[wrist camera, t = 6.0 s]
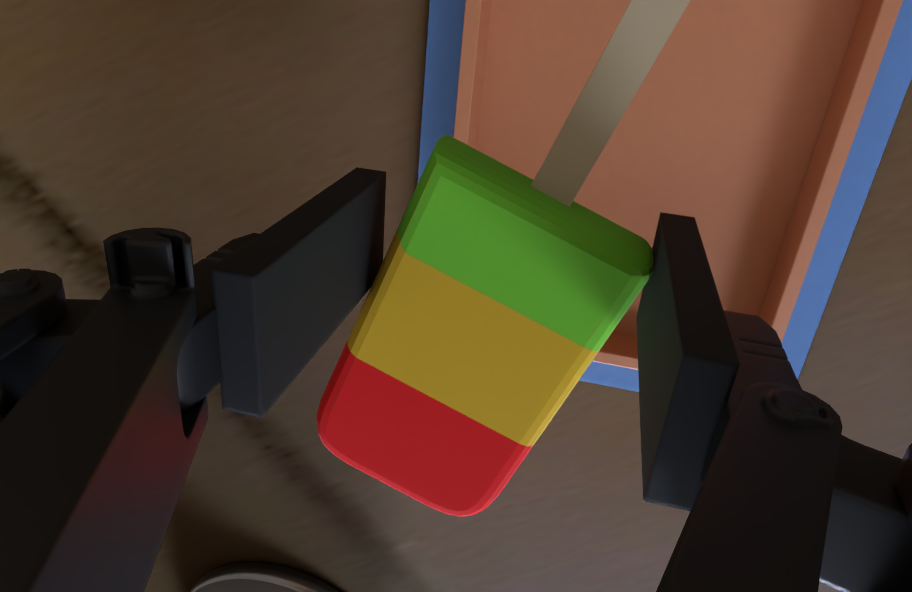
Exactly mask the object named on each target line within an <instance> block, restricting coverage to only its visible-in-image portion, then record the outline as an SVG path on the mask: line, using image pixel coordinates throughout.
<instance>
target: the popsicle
mask: <svg viewBox="0 0 912 592" xmlns="http://www.w3.org/2000/svg"><path fill="white" fill-rule="evenodd" d="M689 2H690V0H631V2H630V4H629V5H628V7H627V9H626V11H625V13H624V15H623V16H622V18H621V20H620V22H619V24H618V26H617V27H616V29H615V31H614V33H613V35H612V37H611V39H610V40H609V42H608V44H607V46H606V48H605V50H604V51H603V53H602V55H601V57H600V59H599V61H598V62H597V64H596V66H595V68H594V70H593V72H592V73H591V75H590V77H589V79H588V81H587V83H586V85H585V86H584V88H583V90H582V92H581V94H580V96H579V97H578V99H577V101H576V103H575V105H574V107H573V108H572V110H571V112H570V114H569V116H568V118H567V120H566V121H565V123H564V125H563V127H562V129H561V131H560V132H559V134H558V136H557V138H556V140H555V142H554V143H553V145H552V147H551V149H550V151H549V153H548V155H547V156H546V158H545V160H544V162H543V164H542V166H541V167H540V169H539V171H538V173H537V175H536V177H535V178H534V180H533V179H531V178H529V177H527V176H525V175H523V174H521V173H520V172H518V171H516V170H514V169H512V168H510V167H508V166H506V165H504V164H503V163H501V162H499V161H497V160H495V159H493V158H491V157H489V156H487V155H486V154H484V153H482V152H480V151H478V150H476V149H474V148H472V147H470V146H468V145H467V144H465V143H463V142H461V141H459V140H457V139H455V138H453V137H451V136H450V135H448V134H446V135H443V136H442V137H441V138H440V139H439V140H438V141H437V143H436V144H435V146H434V149H433V151H432V153H431V155H430V158H429V160H428V162H427V164H426V167H425V169H424V171H423V173H422V175H421V178H420V180H419V182H418V184H417V187H416V189H415V191H414V193H413V196H412V198H411V200H410V202H409V204H408V207H407V209H406V211H405V213H404V216H403V218H402V220H401V222H400V225H399V227H398V229H397V231H396V233H395V236H394V238H393V240H392V242H391V245H390V247H389V249H388V251H387V253H386V256H385V258H384V260H383V262H382V265H381V267H380V269H379V271H378V274H377V276H376V278H375V280H374V282H373V285H372V287H371V289H370V291H369V294H368V296H367V298H366V300H365V303H364V305H363V307H362V309H361V311H360V314H359V316H358V318H357V320H356V323H355V325H354V327H353V329H352V332H351V334H350V336H349V338H348V341H347V343H346V345H345V347H344V349H343V352H342V354H341V356H340V358H339V361H338V363H337V365H336V367H335V370H334V372H333V374H332V376H331V378H330V381H329V383H328V385H327V387H326V390H325V392H324V394H323V396H322V399H321V401H320V405H319V408H318V412H317V433H318V435H319V437H320V439H321V441H322V443H323V444H324V445H325V446H326V447H327V448H328V449H329V450H330V451H331V452H332V453H333V454H334V455H335V456H337V457H338V458H340V459H342V460H343V461H345V462H346V463H348V464H349V465H351V466H353V467H355V468H357V469H359V470H361V471H362V472H364V473H366V474H368V475H370V476H372V477H374V478H376V479H378V480H380V481H381V482H383V483H385V484H387V485H389V486H391V487H393V488H395V489H397V490H398V491H400V492H402V493H404V494H406V495H408V496H410V497H412V498H414V499H416V500H417V501H419V502H421V503H423V504H425V505H427V506H429V507H431V508H434V509H436V510H438V511H441V512H443V513H445V514H450V515H455V516H460V517H461V516H470V515H475V514H477V513H478V512H480V511H482V510H484V509H486V508H487V507H488V506H489V505H490V504H491V503H492V502H493V501H494V500H495V499H496V497H497V496H498V495H499V494H500V493H501V491H502V490H503V489H504V487H505V486H506V484H507V483H508V481H509V480H510V478H511V477H512V476H513V474H514V473H515V471H516V470H517V468H518V467H519V466H520V464H521V463H522V461H523V460H524V458H525V457H526V455H527V454H528V453H529V451H530V450H531V448H532V447H533V445H534V444H535V443H536V441H537V440H538V438H539V437H540V435H541V434H542V432H543V431H544V430H545V428H546V427H547V425H548V424H549V422H550V421H551V420H552V418H553V417H554V415H555V414H556V412H557V411H558V409H559V408H560V407H561V405H562V404H563V402H564V401H565V399H566V398H567V397H568V395H569V394H570V392H571V391H572V389H573V388H574V386H575V385H576V384H577V382H578V381H579V379H580V378H581V376H582V375H583V374H584V372H585V371H586V369H587V368H588V366H589V365H590V363H591V362H592V361H593V359H594V358H595V356H596V355H597V353H598V352H599V351H600V349H601V348H602V346H603V345H604V343H605V342H606V341H607V339H608V338H609V336H610V335H611V333H612V332H613V330H614V329H615V328H616V326H617V325H618V323H619V322H620V320H621V319H622V318H623V316H624V315H625V313H626V312H627V310H628V309H629V307H630V306H631V305H632V303H633V302H634V300H635V299H636V297H637V296H638V295H639V293H640V292H641V290H642V289H643V287H644V286H645V284H646V283H647V282H648V280H649V278H650V276H651V274H652V272H653V265H654V259H653V251H652V248H651V246H650V245H649V243H648V242H647V241H646V240H645V239H644V238H642V237H641V236H639V235H637V234H635V233H633V232H631V231H629V230H627V229H625V228H624V227H622V226H620V225H618V224H616V223H614V222H612V221H610V220H608V219H607V218H605V217H603V216H601V215H599V214H597V213H595V212H593V211H591V210H590V209H588V208H586V207H584V206H582V205H580V204H578V203H576V202H574V201H573V200H574V198H575V197H576V195H577V193H578V192H579V190H580V188H581V186H582V185H583V183H584V181H585V180H586V178H587V176H588V175H589V173H590V171H591V169H592V168H593V166H594V164H595V163H596V161H597V159H598V157H599V156H600V154H601V152H602V151H603V149H604V147H605V145H606V144H607V142H608V140H609V139H610V137H611V135H612V134H613V132H614V130H615V128H616V127H617V125H618V123H619V122H620V120H621V118H622V116H623V115H624V113H625V111H626V110H627V108H628V106H629V105H630V103H631V101H632V99H633V98H634V96H635V94H636V93H637V91H638V89H639V87H640V86H641V84H642V82H643V81H644V79H645V77H646V75H647V74H648V72H649V70H650V69H651V67H652V65H653V64H654V62H655V60H656V58H657V57H658V55H659V53H660V52H661V50H662V48H663V46H664V45H665V43H666V41H667V40H668V38H669V36H670V35H671V33H672V31H673V29H674V28H675V26H676V24H677V23H678V21H679V19H680V17H681V16H682V14H683V12H684V11H685V9H686V7H687V5H688V4H689Z"/></svg>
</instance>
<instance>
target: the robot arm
mask: <svg viewBox="0 0 912 592" xmlns="http://www.w3.org/2000/svg"><path fill="white" fill-rule="evenodd" d="M385 189H386V172H384V171H377V170H370V169H363V168H355V169H354V170H352V171H351V172H350V173H348V174H347V175H345V176H344V177H342V178H341V179H339V180H338V181H336V182H335V183H334V184H332V185H331V186H329V187H328V188H326V189H325V190H323V191H322V192H320V193H319V194H318V195H316V196H315V197H313V198H312V199H310V200H309V201H307V202H306V203H304V204H303V205H302V206H300V207H299V208H297V209H296V210H294V211H293V212H291V213H290V214H288V215H287V216H286V217H284V218H283V219H281V220H280V221H278V222H277V223H275V224H274V225H273V226H271V227H270V228H268V229H267V230H265V231H264V232H262V233H261V234H257V233H252V234H249V235H246V236H243V237H240V238H236V239H233V240H231V241H230V242H228V243H227V244H225V245H224V246H222V247H221V248H219V249H218V251H214V252H213V253H211V254H210V255H208V256H207V257H206V259H202V260H201V261H199V262H198V263H196V264H195V265H193V256H192V246H191V238H190V237H189V236H188V235H187V234H186V233H184V232H181V231H178V230H174V229H167V228H140V229H133V230H127V231H123V232H120V233H117V234H114V235H112V236H110V237H108V238H107V239H105V240H104V241H103V243H104V249H105V255H106V261H107V267H108V273H109V279H110V286H111V288H110V289H109V290H108V292H107V293H106V294H105V295H104V297H103V298H102V299H101V300H79V299H66V298H65V293H64V288H63V283H62V279H61V278H60V277H59V276H57V275H56V274H54V273H50V272H46V271H39V270H31V269H19V271H17V269H15V270H8V271H5V272H4V273H1V274H0V592H144V590H145V587H146V585H147V582H148V579H149V577H150V574H151V571H152V568H153V566H154V563H155V560H156V558H157V555H158V552H159V550H160V547H161V544H162V541H163V539H164V536H165V533H166V531H167V528H168V525H169V522H170V520H171V517H172V514H173V512H174V509H175V506H176V503H177V501H178V498H179V495H180V493H181V490H182V487H183V484H184V482H185V479H186V476H187V474H188V471H189V468H190V465H191V463H192V460H193V457H194V455H195V452H196V449H197V446H198V444H199V441H200V438H201V436H202V433H203V430H204V427H205V425H206V422H207V419H208V404H207V394H208V393H209V392H210V391H211V390H212V389H213V388H214V387H215V386H216V385H217V384H218V383H219V382H220V384H221V396H222V407H223V409H225V410H229V411H234V412H238V413H243V414H248V415H252V416H257V417H261V418H262V417H263V416H264V415H265V414H266V413H267V411H268V410H269V409H270V408H271V407H272V405H273V404H274V403H275V402H276V401H277V399H278V398H279V397H280V396H281V395H282V393H283V392H284V391H285V390H286V389H287V387H288V386H289V385H290V384H291V383H292V381H293V380H294V379H295V378H296V377H297V375H298V374H299V373H300V372H301V371H302V369H303V368H304V367H305V366H306V365H307V363H308V362H309V361H310V360H311V359H312V357H313V356H314V355H315V354H316V353H317V351H318V350H319V349H320V348H321V347H322V345H323V344H324V343H325V342H326V341H327V339H328V338H329V337H330V336H331V334H332V333H333V332H334V331H335V330H336V328H337V327H338V326H339V325H340V324H341V322H342V321H343V320H344V319H345V318H346V316H347V315H348V314H349V313H350V312H351V310H352V309H353V308H354V307H355V306H356V304H357V303H358V302H359V301H360V300H361V298H362V297H363V296H364V295H365V294H366V292H367V291H368V290H369V289H370V288H371V286H372V285H373V282H374V280H375V278H376V276H377V274H378V271H379V269H380V267H381V265H382V262H383V242H384V215H385ZM652 251H653V259H654V265H653V272H652V274H651V276H650V278H649V280H648V282H647V283H646V284H645V286H644V287H643V290H642V295H641V299H640V303H639V308H638V312H637V316H636V325H637V350H638V376H639V402H640V428H641V453H642V479H643V501H646V502H651V503H655V504H660V505H664V506H669V507H674V508H678V509H683V510H687V511H690V514H689V516H688V518H687V521H686V523H685V525H684V528H683V530H682V532H681V535H680V537H679V539H678V542H677V544H676V546H675V549H674V551H673V553H672V556H671V558H670V560H669V563H668V565H667V568H666V570H665V572H664V575H663V577H662V579H661V582H660V584H659V586H658V589H657V591H656V592H818V586H819V581H820V582H822V583H824V584H826V585H828V586H831V587H833V588H835V589H837V590H839V591H841V592H912V444H911V445H909V447H908V449H907V451H906V453H905V455H904V457H903V459H900V458H897V457H895V456H892V455H889V454H886V453H884V452H881V451H878V450H875V449H873V448H870V447H867V446H865V445H862V444H860V443H858V442H855V441H853V440H850V439H848V438H847V437H845V436H843V435H841V432H842V423H841V419H840V416H839V415H838V414H837V413H836V412H835V411H834V409H833V408H832V407H831V406H830V405H828V404H827V403H825V402H824V401H822V400H821V399H819V398H818V397H816V396H815V395H813V394H810V393H808V392H805V391H803V390H802V389H801V386H800V384H799V382H798V380H797V377H796V375H795V373H794V371H793V368H792V366H791V364H790V361H787V359H788V357H787V355H786V352H785V350H784V348H782V343H781V341H780V339H779V337H778V334H777V332H776V330H774V329H773V328H772V327H771V326H770V325H769V324H767V323H766V322H765V321H764V320H763V319H762V318H760V317H759V316H755V315H749V314H743V313H737V312H731V311H725V310H723V307H722V304H721V301H720V298H719V294H718V291H717V288H716V285H715V281H714V278H713V275H712V272H711V268H710V265H709V262H708V259H707V255H706V252H705V249H704V246H703V242H702V239H701V236H700V233H699V229H698V226H697V223H696V220H695V217H690V216H683V215H676V214H669V213H662V212H660V216H659V221H658V225H657V229H656V234H655V238H654V243H653V247H652ZM701 485H702V486H701ZM700 487H701V488H700ZM190 592H339V591H338V590H336V589H334V588H333V587H331V586H330V585H328V584H326V583H324V582H322V581H320V580H319V579H316V578H314V577H312V576H310V575H308V574H305V573H302V572H300V571H297V570H294V569H290V568H287V567H283V566H279V565H274V564H267V563H257V562H243V563H234V564H229V565H225V566H222V567H219V568H216V569H214V570H212V571H210V572H209V573H207V574H206V575H204V576H203V577H202V578H201V579H200V580H199V581H198V582H197V583H196V584H195V585H194V587H193V588H192V590H191V591H190Z"/></svg>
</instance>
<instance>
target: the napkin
mask: <svg viewBox="0 0 912 592" xmlns="http://www.w3.org/2000/svg"><path fill="white" fill-rule="evenodd" d="M465 2H466V0H430V5H429V20H428V35H427V50H426V65H425V79H424V94H423V109H422V124H421V139H420V154H419V168H418V182H419V180H420V178H421V175H422V173H423V171H424V169H425V167H426V164H427V162H428V160H429V158H430V155H431V153H432V151H433V149H434V146H435V144H436V143H437V141H438V140H439V139H440V138H441V137H442V136H443V135H446V134H448V135H450V136H451V137H453V136H454V125H455V114H456V103H457V92H458V80H459V69H460V58H461V47H462V35H463V24H464V13H465ZM911 78H912V0H903V2H902V5H901V8H900V11H899V13H898V16H897V19H896V22H895V25H894V27H893V30H892V33H891V36H890V39H889V42H888V44H887V47H886V50H885V53H884V56H883V58H882V61H881V64H880V67H879V70H878V73H877V75H876V78H875V81H874V84H873V87H872V90H871V92H870V95H869V98H868V101H867V104H866V106H865V109H864V112H863V115H862V118H861V121H860V123H859V126H858V129H857V132H856V135H855V137H854V140H853V143H852V146H851V149H850V152H849V154H848V157H847V160H846V163H845V166H844V168H843V171H842V174H841V177H840V180H839V183H838V185H837V188H836V191H835V194H834V197H833V199H832V202H831V205H830V208H829V211H828V214H827V216H826V219H825V222H824V225H823V228H822V230H821V233H820V236H819V239H818V242H817V245H816V247H815V250H814V253H813V256H812V259H811V261H810V264H809V267H808V270H807V273H806V276H805V278H804V281H803V284H802V287H801V290H800V293H799V295H798V298H797V301H796V304H795V307H794V309H793V312H792V315H791V318H790V321H789V324H788V326H787V329H786V332H785V335H784V338H783V340H782V348H784V350H785V352H786V355H787V357H788V359H787V361H790V364H791V366H792V368H793V371H794V373H795V375H796V377H797V380H798V377H799V374H800V372H801V369H802V366H803V364H804V361H805V358H806V356H807V353H808V351H809V348H810V345H811V343H812V340H813V337H814V335H815V332H816V329H817V327H818V324H819V321H820V319H821V316H822V313H823V311H824V308H825V306H826V303H827V300H828V298H829V295H830V292H831V290H832V287H833V284H834V282H835V279H836V276H837V274H838V271H839V268H840V266H841V263H842V260H843V258H844V255H845V253H846V250H847V247H848V245H849V242H850V239H851V237H852V234H853V231H854V229H855V226H856V223H857V221H858V218H859V215H860V213H861V210H862V207H863V205H864V202H865V200H866V197H867V194H868V192H869V189H870V186H871V184H872V181H873V178H874V176H875V173H876V170H877V168H878V165H879V162H880V160H881V157H882V155H883V152H884V149H885V147H886V144H887V141H888V139H889V136H890V133H891V131H892V128H893V125H894V123H895V120H896V117H897V115H898V112H899V109H900V107H901V104H902V102H903V99H904V96H905V94H906V91H907V88H908V86H909V83H910V80H911ZM417 184H418V183H417ZM579 380H581V381H586V382H591V383H596V384H601V385H607V386H612V387H617V388H622V389H627V390H632V391H637V392H639V376H638V370H635V369H630V368H625V367H620V366H615V365H609V364H604V363H599V362H594V361H592V362H591V363H590V365H589V366H588V368H587V369H586V371H585V372H584V374H583V375H582V376H581V378H580V379H579Z"/></svg>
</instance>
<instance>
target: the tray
mask: <svg viewBox="0 0 912 592" xmlns="http://www.w3.org/2000/svg"><path fill="white" fill-rule="evenodd" d="M630 2H631V0H466V2H465V13H464V24H463V35H462V47H461V58H460V69H459V80H458V92H457V103H456V114H455V125H454V136H453V138H455V139H457V140H459V141H461V142H463V143H465V144H467V145H468V146H470V147H472V148H474V149H476V150H478V151H480V152H482V153H484V154H486V155H487V156H489V157H491V158H493V159H495V160H497V161H499V162H501V163H503V164H504V165H506V166H508V167H510V168H512V169H514V170H516V171H518V172H520V173H521V174H523V175H525V176H527V177H529V178H531V179H533V180H534V178H535V177H536V175H537V173H538V171H539V169H540V167H541V166H542V164H543V162H544V160H545V158H546V156H547V155H548V153H549V151H550V149H551V147H552V145H553V143H554V142H555V140H556V138H557V136H558V134H559V132H560V131H561V129H562V127H563V125H564V123H565V121H566V120H567V118H568V116H569V114H570V112H571V110H572V108H573V107H574V105H575V103H576V101H577V99H578V97H579V96H580V94H581V92H582V90H583V88H584V86H585V85H586V83H587V81H588V79H589V77H590V75H591V73H592V72H593V70H594V68H595V66H596V64H597V62H598V61H599V59H600V57H601V55H602V53H603V51H604V50H605V48H606V46H607V44H608V42H609V40H610V39H611V37H612V35H613V33H614V31H615V29H616V27H617V26H618V24H619V22H620V20H621V18H622V16H623V15H624V13H625V11H626V9H627V7H628V5H629V4H630ZM902 2H903V0H690V2H689V4H688V5H687V7H686V9H685V11H684V12H683V14H682V16H681V17H680V19H679V21H678V23H677V24H676V26H675V28H674V29H673V31H672V33H671V35H670V36H669V38H668V40H667V41H666V43H665V45H664V46H663V48H662V50H661V52H660V53H659V55H658V57H657V58H656V60H655V62H654V64H653V65H652V67H651V69H650V70H649V72H648V74H647V75H646V77H645V79H644V81H643V82H642V84H641V86H640V87H639V89H638V91H637V93H636V94H635V96H634V98H633V99H632V101H631V103H630V105H629V106H628V108H627V110H626V111H625V113H624V115H623V116H622V118H621V120H620V122H619V123H618V125H617V127H616V128H615V130H614V132H613V134H612V135H611V137H610V139H609V140H608V142H607V144H606V145H605V147H604V149H603V151H602V152H601V154H600V156H599V157H598V159H597V161H596V163H595V164H594V166H593V168H592V169H591V171H590V173H589V175H588V176H587V178H586V180H585V181H584V183H583V185H582V186H581V188H580V190H579V192H578V193H577V195H576V197H575V198H574V200H573V201H574V202H576V203H578V204H580V205H582V206H584V207H586V208H588V209H590V210H591V211H593V212H595V213H597V214H599V215H601V216H603V217H605V218H607V219H608V220H610V221H612V222H614V223H616V224H618V225H620V226H622V227H624V228H625V229H627V230H629V231H631V232H633V233H635V234H637V235H639V236H641V237H642V238H644V239H645V240H646V241H647V242H648V243H649V245H650V246H651V248H652V247H653V243H654V238H655V234H656V229H657V225H658V221H659V216H660V212H662V213H669V214H676V215H683V216H690V217H695V220H696V223H697V226H698V229H699V233H700V236H701V239H702V242H703V246H704V249H705V252H706V255H707V259H708V262H709V265H710V268H711V272H712V275H713V278H714V281H715V285H716V288H717V291H718V294H719V298H720V301H721V304H722V307H723V310H725V311H731V312H737V313H743V314H749V315H755V316H759V317H760V318H762V319H763V320H764V321H765V322H766V323H767V324H769V325H770V326H771V327H772V328H773V329H774V330H776V332H777V334H778V337H779V339H780V341H781V343H782V340H783V338H784V335H785V332H786V329H787V326H788V324H789V321H790V318H791V315H792V312H793V309H794V307H795V304H796V301H797V298H798V295H799V293H800V290H801V287H802V284H803V281H804V278H805V276H806V273H807V270H808V267H809V264H810V261H811V259H812V256H813V253H814V250H815V247H816V245H817V242H818V239H819V236H820V233H821V230H822V228H823V225H824V222H825V219H826V216H827V214H828V211H829V208H830V205H831V202H832V199H833V197H834V194H835V191H836V188H837V185H838V183H839V180H840V177H841V174H842V171H843V168H844V166H845V163H846V160H847V157H848V154H849V152H850V149H851V146H852V143H853V140H854V137H855V135H856V132H857V129H858V126H859V123H860V121H861V118H862V115H863V112H864V109H865V106H866V104H867V101H868V98H869V95H870V92H871V90H872V87H873V84H874V81H875V78H876V75H877V73H878V70H879V67H880V64H881V61H882V58H883V56H884V53H885V50H886V47H887V44H888V42H889V39H890V36H891V33H892V30H893V27H894V25H895V22H896V19H897V16H898V13H899V11H900V8H901V5H902ZM642 290H643V289H642ZM642 290H641V292H640V293H639V295H638V296H637V297H636V299H635V300H634V302H633V303H632V305H631V306H630V307H629V309H628V310H627V312H626V313H625V315H624V316H623V318H622V319H621V320H620V322H619V323H618V325H617V326H616V328H615V329H614V330H613V332H612V333H611V335H610V336H609V338H608V339H607V341H606V342H605V343H604V345H603V346H602V348H601V349H600V351H599V352H598V353H597V355H596V356H595V358H594V359H593V361H594V362H599V363H604V364H609V365H615V366H620V367H625V368H630V369H635V370H638V350H637V325H636V316H637V312H638V308H639V303H640V299H641V295H642Z"/></svg>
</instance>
